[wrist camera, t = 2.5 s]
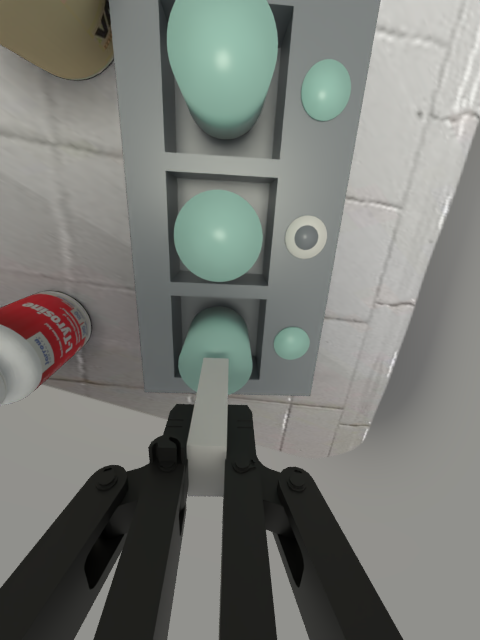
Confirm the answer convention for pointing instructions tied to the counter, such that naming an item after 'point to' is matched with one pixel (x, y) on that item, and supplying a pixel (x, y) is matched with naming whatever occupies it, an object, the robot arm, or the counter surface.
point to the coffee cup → (59, 35)
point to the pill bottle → (38, 341)
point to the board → (243, 185)
